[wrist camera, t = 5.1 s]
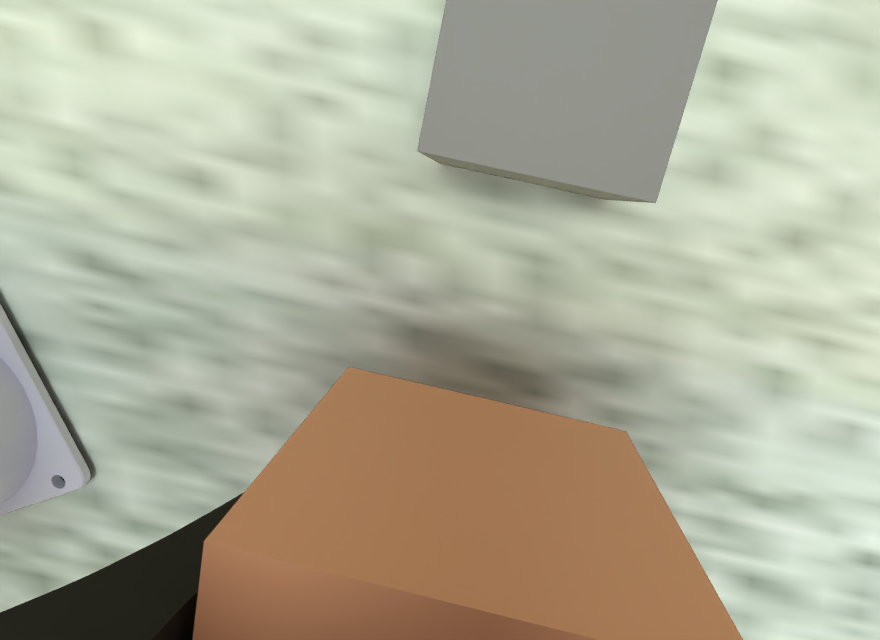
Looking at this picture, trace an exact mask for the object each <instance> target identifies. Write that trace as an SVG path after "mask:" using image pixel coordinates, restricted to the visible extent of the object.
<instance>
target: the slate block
mask: <svg viewBox="0 0 880 640" xmlns="http://www.w3.org/2000/svg"><path fill="white" fill-rule="evenodd" d="M717 1H718V0H446V5H445V10H444V15H443V20H442V25H441V31H440V36H439V41H438V46H437V51H436V57H435V62H434V67H433V72H432V77H431V82H430V88H429V93H428V98H427V103H426V108H425V114H424V119H423V124H422V129H421V134H420V139H419V145H418V150H417V151H418V152H420V153H422V154H424V155H426V156H427V157H429V158H431V159H433V160H435V161H436V162H438V163H440V164H445V165H450V166H454V167H459V168H463V169H468V170H473V171H477V172H482V173H486V174H491V175H496V176H500V177H505V178H509V179H514V180H518V181H523V182H528V183H532V184H537V185H541V186H546V187H551V188H555V189H560V190H564V191H569V192H574V193H578V194H583V195H587V196H592V197H597V198H601V199H606V200H619V201H635V202H651V203H656V201H657V197H658V194H659V191H660V188H661V184H662V181H663V178H664V174H665V171H666V168H667V165H668V161H669V158H670V155H671V152H672V148H673V145H674V142H675V138H676V135H677V132H678V129H679V125H680V122H681V119H682V115H683V112H684V109H685V106H686V102H687V99H688V96H689V92H690V89H691V86H692V83H693V79H694V76H695V73H696V69H697V66H698V63H699V60H700V56H701V53H702V50H703V46H704V43H705V40H706V37H707V33H708V30H709V27H710V24H711V20H712V17H713V14H714V10H715V7H716V4H717Z"/></svg>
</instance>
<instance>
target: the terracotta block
mask: <svg viewBox="0 0 880 640" xmlns="http://www.w3.org/2000/svg"><path fill="white" fill-rule="evenodd" d="M193 640H743V639H742V637H741V635H740V633H739V632H738V630H737V628H736V626H735V625H734V623H733V621H732V619H731V617H730V616H729V614H728V612H727V610H726V609H725V607H724V605H723V603H722V601H721V600H720V598H719V596H718V594H717V593H716V591H715V589H714V587H713V585H712V584H711V582H710V580H709V578H708V576H707V575H706V573H705V571H704V569H703V568H702V566H701V564H700V562H699V560H698V559H697V557H696V555H695V553H694V552H693V550H692V548H691V546H690V544H689V543H688V541H687V539H686V537H685V536H684V534H683V532H682V530H681V528H680V527H679V525H678V523H677V521H676V520H675V518H674V516H673V514H672V512H671V511H670V509H669V507H668V505H667V503H666V502H665V500H664V498H663V496H662V495H661V493H660V491H659V489H658V487H657V486H656V484H655V482H654V480H653V479H652V477H651V475H650V473H649V471H648V470H647V468H646V466H645V464H644V463H643V461H642V459H641V457H640V455H639V454H638V452H637V450H636V448H635V447H634V445H633V443H632V441H631V439H630V438H629V436H628V434H627V432H626V431H623V430H618V429H614V428H610V427H605V426H601V425H597V424H592V423H588V422H584V421H580V420H575V419H571V418H567V417H562V416H558V415H554V414H549V413H545V412H541V411H537V410H532V409H528V408H524V407H519V406H515V405H511V404H506V403H502V402H498V401H493V400H489V399H485V398H481V397H476V396H472V395H468V394H463V393H459V392H455V391H450V390H446V389H442V388H438V387H433V386H429V385H425V384H420V383H416V382H412V381H407V380H403V379H399V378H394V377H390V376H386V375H382V374H377V373H373V372H369V371H364V370H360V369H356V368H351V367H348V368H347V370H346V371H345V372H344V373H343V374H342V376H341V377H340V378H339V379H338V381H337V382H336V383H335V384H334V385H333V387H332V388H331V389H330V390H329V391H328V393H327V394H326V395H325V396H324V397H323V399H322V400H321V401H320V402H319V403H318V405H317V406H316V407H315V408H314V409H313V411H312V412H311V413H310V414H309V415H308V417H307V418H306V419H305V420H304V421H303V423H302V424H301V425H300V426H299V427H298V429H297V430H296V431H295V432H294V433H293V435H292V436H291V437H290V438H289V439H288V441H287V442H286V443H285V444H284V445H283V447H282V448H281V449H280V450H279V452H278V453H277V454H276V455H275V456H274V458H273V459H272V460H271V461H270V462H269V464H268V465H267V466H266V467H265V468H264V470H263V471H262V472H261V473H260V474H259V476H258V477H257V478H256V479H255V480H254V482H253V483H252V484H251V485H250V486H249V488H248V489H247V490H246V491H245V492H244V494H243V495H242V496H241V497H240V498H239V500H238V501H237V502H236V503H235V504H234V506H233V507H232V508H231V509H230V510H229V512H228V513H227V514H226V515H225V516H224V518H223V519H222V520H221V521H220V522H219V524H218V525H217V526H216V527H215V529H214V530H213V531H212V532H211V533H210V535H209V536H208V537H207V538H206V539H205V541H204V545H203V554H202V563H201V571H200V580H199V588H198V597H197V605H196V614H195V622H194V631H193Z"/></svg>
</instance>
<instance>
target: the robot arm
mask: <svg viewBox="0 0 880 640" xmlns="http://www.w3.org/2000/svg"><path fill="white" fill-rule="evenodd" d="M90 475H91V474H90V471H89V468H88V466H87V464H86V463H85V461H84V459H83V457H82V455H81V453H80V451H79V450H78V448H77V446H76V444H75V442H74V440H73V438H72V437H71V435H70V433H69V431H68V429H67V427H66V425H65V424H64V422H63V420H62V418H61V416H60V414H59V412H58V410H57V409H56V407H55V405H54V403H53V401H52V399H51V397H50V396H49V394H48V392H47V390H46V388H45V386H44V384H43V383H42V381H41V379H40V377H39V375H38V373H37V371H36V370H35V368H34V366H33V364H32V362H31V360H30V358H29V356H28V355H27V353H26V351H25V349H24V347H23V345H22V343H21V342H20V340H19V338H18V336H17V334H16V332H15V330H14V329H13V327H12V325H11V323H10V321H9V319H8V317H7V316H6V314H5V312H4V310H3V308H2V306H1V304H0V515H2V514H5V513H8V512H11V511H14V510H17V509H20V508H23V507H26V506H29V505H32V504H35V503H38V502H41V501H44V500H48V499H51V498H54V497H57V496H60V495H63V494H66V493H69V492H72V491H75V490H78V489H79V488H81V487H83V486H84V485H85V484H87V483H88V482H89V480H90ZM60 476H61V477H63V479H64V480H65V482H64V481H63V480H62V479H61V477H60ZM243 494H244V493H242V494H240V495H239V496H237V497H235V498H234V499H232V500H230V501H228V502H227V503H225V504H223V505H222V506H220V507H218V508H217V509H215V510H213V511H211V512H210V513H208V514H206V515H204V516H203V517H201V518H199V519H197V520H195V521H194V522H192V523H190V524H188V525H186V526H185V527H183V528H181V529H179V530H178V531H176V532H174V533H172V534H170V535H169V536H167V537H165V538H163V539H161V540H159V541H157V542H155V543H153V544H151V545H149V546H147V547H145V548H143V549H141V550H139V551H137V552H135V553H133V554H131V555H129V556H127V557H125V558H123V559H121V560H119V561H117V562H115V563H113V564H111V565H109V566H107V567H105V568H103V569H101V570H99V571H97V572H95V573H92V574H90V575H88V576H86V577H84V578H81V579H79V580H77V581H75V582H72V583H70V584H68V585H66V586H63V587H61V588H59V589H57V590H54V591H52V592H49V593H47V594H44V595H42V596H40V597H37V598H35V599H32V600H30V601H28V602H25V603H23V604H20V605H18V606H15V607H13V608H11V609H8V610H6V611H3V612H1V613H0V640H193V631H194V622H195V614H196V605H197V597H198V588H199V580H200V571H201V563H202V554H203V545H204V541H205V539H206V538H207V537H208V536H209V535H210V533H211V532H212V531H213V530H214V529H215V527H216V526H217V525H218V524H219V522H220V521H221V520H222V519H223V518H224V516H225V515H226V514H227V513H228V512H229V510H230V509H231V508H232V507H233V506H234V504H235V503H236V502H237V501H238V500H239V498H240V497H241V496H242V495H243Z"/></svg>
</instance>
